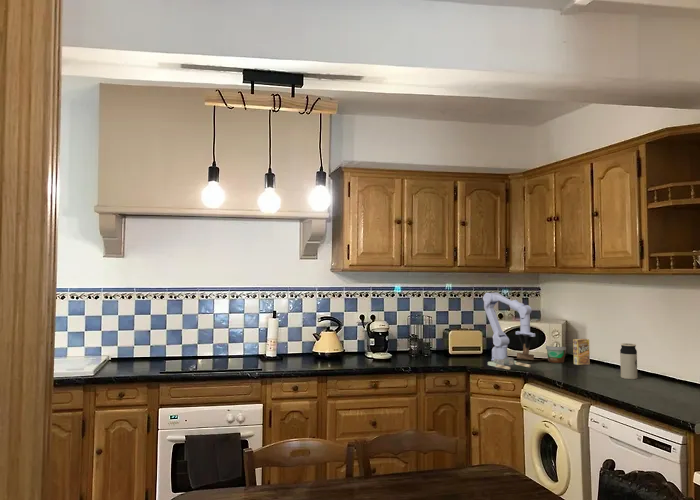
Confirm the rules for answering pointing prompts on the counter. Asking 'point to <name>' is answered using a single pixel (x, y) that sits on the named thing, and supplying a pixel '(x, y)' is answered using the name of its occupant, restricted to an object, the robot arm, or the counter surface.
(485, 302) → the robot arm
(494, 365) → the tray
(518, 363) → the slot rails
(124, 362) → the counter surface
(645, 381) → the counter surface
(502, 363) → the light grey cube
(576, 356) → the candy box
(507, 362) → the gray cube
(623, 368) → the travel mug
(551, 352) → the food container
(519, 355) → the l-shaped wooden block
